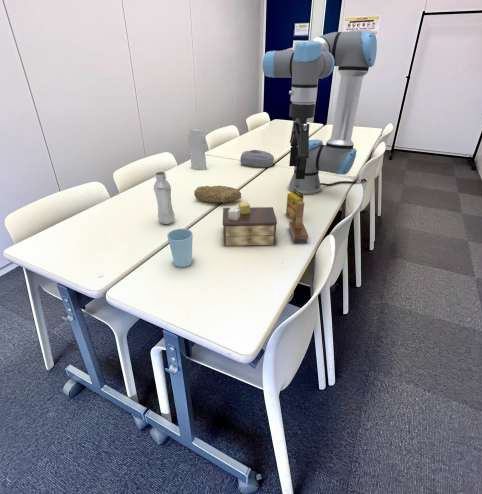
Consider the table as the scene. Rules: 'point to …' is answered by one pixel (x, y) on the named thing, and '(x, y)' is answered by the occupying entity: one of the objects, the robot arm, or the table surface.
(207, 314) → the table surface
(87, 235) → the table surface
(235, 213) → the white faceted lump
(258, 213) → the cabinet
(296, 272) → the table surface
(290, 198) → the crayon box
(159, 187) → the plastic bottle
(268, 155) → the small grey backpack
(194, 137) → the tall pale column
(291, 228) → the brush
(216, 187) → the sponge
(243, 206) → the paper ball yellow
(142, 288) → the table surface
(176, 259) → the cup
